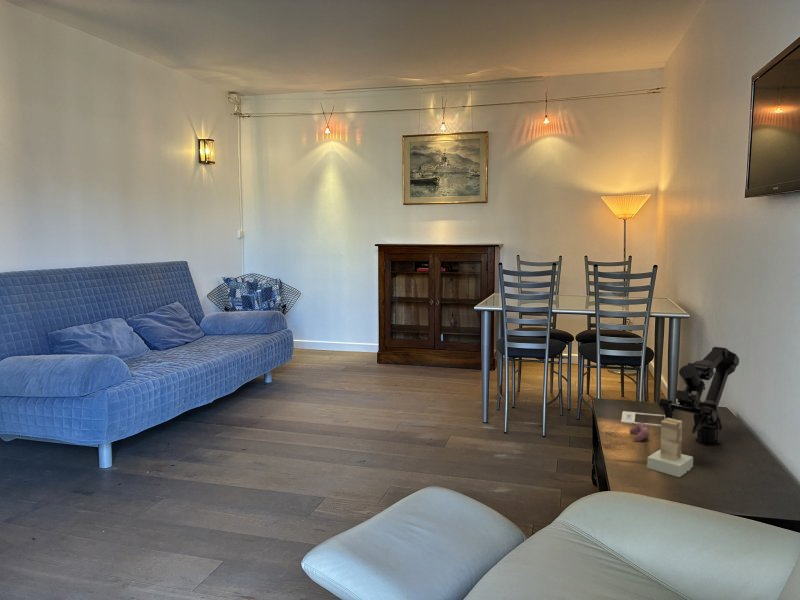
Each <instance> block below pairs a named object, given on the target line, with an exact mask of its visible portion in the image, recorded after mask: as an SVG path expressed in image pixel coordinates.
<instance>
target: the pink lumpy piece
mask: <svg viewBox="0 0 800 600" xmlns="http://www.w3.org/2000/svg"><path fill="white" fill-rule="evenodd" d="M644 423H645V422H638V424H635V425H634V426H633V427H631V428H630V430H629V433H630V435H634V437H633V441H635V442H642V440H644V439H646V438H647V437H648V436H650V430H649V427H648V426H649V425H646V424H644Z"/></svg>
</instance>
